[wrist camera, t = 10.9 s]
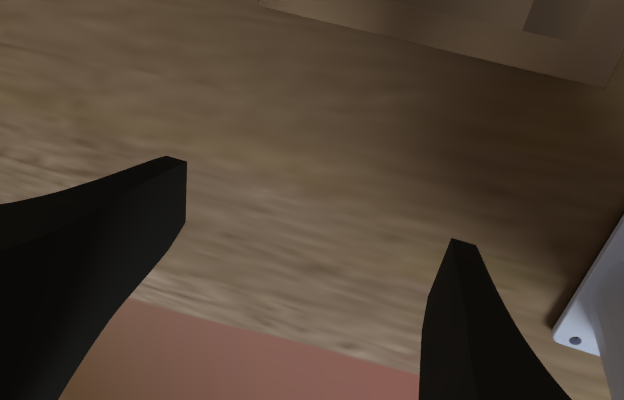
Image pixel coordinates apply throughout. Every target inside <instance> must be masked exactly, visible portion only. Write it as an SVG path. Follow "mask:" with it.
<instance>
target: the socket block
mask: <svg viewBox="0 0 624 400" xmlns="http://www.w3.org/2000/svg"><path fill="white" fill-rule="evenodd" d="M259 6H261V7H266V8H270V9H274V10H278V11H282V12H286V13H291V14H295V15H299V16H303V17H307V18H312V19H316V20H320V21H324V22H328V23H332V24H337V25H341V26H345V27H349V28H353V29H358V30H362V31H366V32H370V33H374V34H379V35H383V36H387V37H391V38H395V39H399V40H404V41H408V42H412V43H416V44H420V45H425V46H429V47H433V48H437V49H441V50H445V51H450V52H454V53H458V54H462V55H466V56H471V57H475V58H479V59H483V60H487V61H491V62H496V63H500V64H504V65H508V66H512V67H517V68H521V69H525V70H529V71H533V72H538V73H542V74H546V75H550V76H554V77H558V78H563V79H567V80H571V81H575V82H579V83H584V84H588V85H592V86H596V87H600V88H604V89H605V87H606V85H607V83H608V81H609V79H610V77H611V75H612V73H613V71H614V69H615V67H616V65H617V63H618V61H619V59H620V57H621V55H622V53H623V51H624V0H259Z"/></svg>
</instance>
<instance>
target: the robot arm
mask: <svg viewBox="0 0 624 400" xmlns="http://www.w3.org/2000/svg"><path fill="white" fill-rule="evenodd" d="M186 181H187V162H186V161H183V160H179V159H176V158H172V157H169V156H164V157H160V158H157V159H154V160H151V161H148V162H145V163H142V164H140V165H137V166H134V167H131V168H129V169H126V170H123V171H120V172H117V173H115V174H112V175H109V176H106V177H104V178H101V179H98V180H95V181H91V182H88V183H85V184H82V185H79V186H76V187H72V188H69V189H66V190H63V191H59V192H56V193H52V194H48V195H44V196H40V197H35V198H31V199H27V200H22V201H17V202H12V203H6V204H0V400H58V399H59V397H60V395H61V393H62V392H63V390H64V389H65V387H66V385H67V384H68V382H69V380H70V379H71V377H72V376H73V374H74V373H75V371H76V369H77V368H78V366H79V365H80V363H81V362H82V360H83V359H84V357H85V355H86V354H87V352H88V351H89V349H90V348H91V346H92V345H93V343H94V342H95V340H96V339H97V337H98V336H99V334H100V333H101V331H102V330H103V329H104V327H105V326H106V324H107V323H108V321H109V320H110V319H111V317H112V316H113V315H114V314H115V312H116V311H117V310H118V309H119V307H120V306H121V305H122V304H123V303H124V301H125V300H126V299H127V298H128V297H129V296H130V294H131V293H132V292H133V291H134V290H135V289H136V288H137V286H138V285H139V284H140V283H141V282H142V281H143V279H144V278H145V277H146V276H147V275H148V274H149V272H150V271H151V270H152V269H153V268H154V266H155V265H156V264H157V263H158V262H159V261H160V259H161V258H162V257H163V256H164V255H165V253H166V252H167V251H168V249H169V248H170V246H171V245H172V243H173V242H174V240H175V239H176V237H177V235H178V234H179V232H180V231H181V229H182V227H183V226H184V224H185V220H186ZM552 336H553V340H554V341H555V342H557V343H559V344H562V345H565V346H568V347H572V348H575V349H578V350H581V351H585V352H588V353H591V354H594V355H598V356H600V357H601V361H602V364H603V368H604V372H605V376H606V379H607V383H608V387H609V391H610V394H611V398H612V400H624V215H623V216H622V218H621V220H620V221H619V223H618V224H617V226H616V228H615V229H614V231H613V232H612V234H611V236H610V237H609V239H608V240H607V242H606V244H605V245H604V247H603V249H602V250H601V252H600V253H599V255H598V257H597V258H596V260H595V261H594V263H593V265H592V266H591V268H590V269H589V271H588V273H587V274H586V276H585V277H584V279H583V281H582V282H581V284H580V286H579V287H578V289H577V290H576V292H575V294H574V295H573V297H572V298H571V300H570V302H569V303H568V305H567V306H566V308H565V310H564V311H563V313H562V315H561V316H560V318H559V319H558V321H557V323H556V324H555V326H554V327H553V329H552ZM571 337H578V338H576V339H571ZM419 400H571V398H570V397H569V396H568V395H567V394H566V393H565V391H564V390H563V389H562V388H561V387H560V386H559V384H558V383H557V382H556V381H555V380H554V378H553V377H552V376H551V375H550V373H549V372H548V371H547V370H546V368H545V367H544V366H543V364H542V363H541V361H540V360H539V359H538V357H537V356H536V355H535V353H534V352H533V351H532V349H531V348H530V346H529V345H528V343H527V342H526V340H525V339H524V337H523V336H522V334H521V333H520V331H519V329H518V328H517V326H516V325H515V323H514V321H513V320H512V318H511V316H510V314H509V312H508V311H507V309H506V307H505V305H504V303H503V301H502V299H501V297H500V295H499V293H498V292H497V290H496V287H495V285H494V283H493V281H492V279H491V277H490V275H489V273H488V271H487V268H486V266H485V264H484V262H483V259H482V257H481V255H480V252H479V250H478V248H477V246H476V245H474V244H470V243H467V242H463V241H460V240H456V239H453V238H451V241H450V243H449V246H448V248H447V251H446V253H445V256H444V258H443V261H442V263H441V266H440V268H439V271H438V273H437V276H436V278H435V281H434V283H433V286H432V288H431V291H430V293H429V296H428V300H427V305H426V310H425V316H424V322H423V328H422V339H421V359H420V382H419Z"/></svg>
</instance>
